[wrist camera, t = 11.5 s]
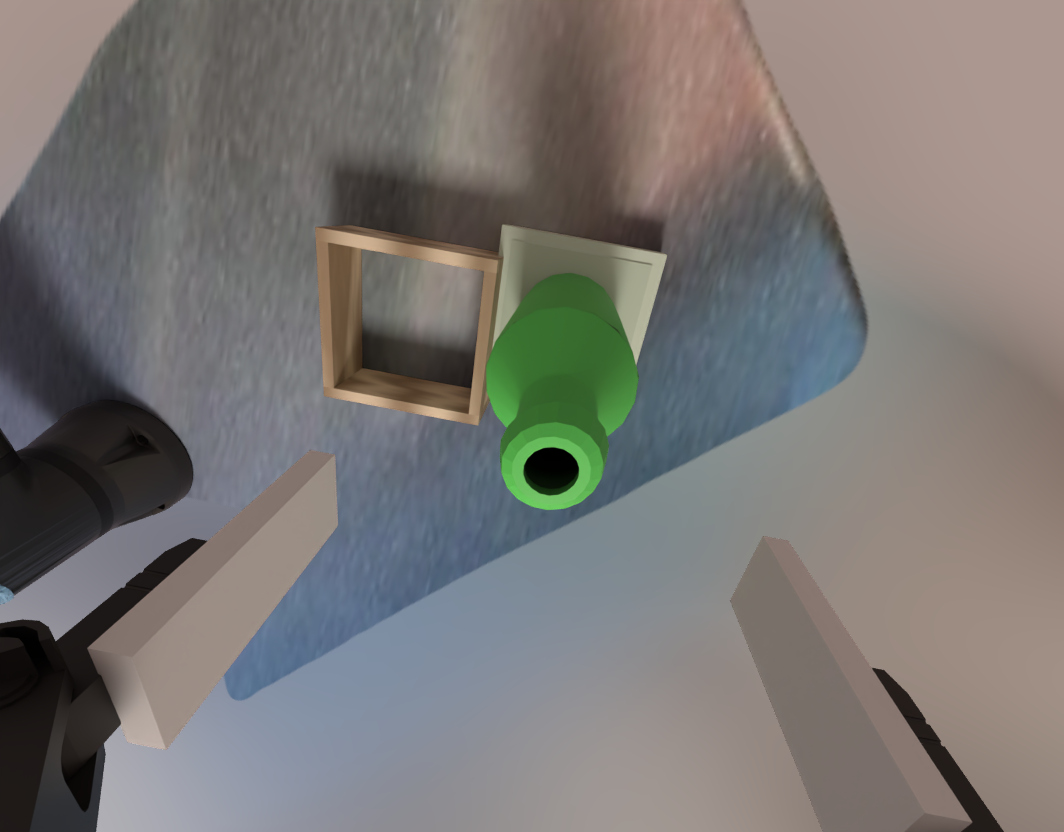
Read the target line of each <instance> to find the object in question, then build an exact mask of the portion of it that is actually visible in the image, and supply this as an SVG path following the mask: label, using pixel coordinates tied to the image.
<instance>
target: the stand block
mask: <svg viewBox="0 0 1064 832" xmlns="http://www.w3.org/2000/svg"><path fill="white" fill-rule="evenodd" d="M498 256H500V257H504V260H503V268H502V276H501V284H500V292H499V300H498V308H497V316H496V323H495V331H494V339H493V346H494V344H495V341H496V340H497V338H498V337H499V335H500V334H501V332H502V331H503V329H504V327H505V326H506V324H507V323H508V321H509V320H510V318H511V317H512V315H513V314H514V312H515V311H516V309H517V308H518V306H519V305H520V303H521V302H522V300H523V299H524V297H525V296H526V295H527V294H528V293H529V291H530V290H531V289H532V288H533V287H534V286H535V285H536V284H537V283H539V282H540V281H542V280H544V279H546V278H548V277H550V276H552V275H557V274H565V273H574V274H578V275H582V276H586V277H589V278H590V279H592V280H593V281H595V282H596V283H598V284H599V285H600V286H602V287H603V288H604V289H605V291H606V292H607V294H608V295H609V297H610V298H611V300H612V301H613V303H614V305H615V308H616V310H617V312H618V315H619V317H620V320H621V322H622V325H623V328H624V330H625V333H626V336H627V338H628V341H629V344H630V346H631V349H632V351H633V355H634V359H635V363H636V364H637V361H638V357H639V353H640V350H641V346H642V343H643V339H644V336H645V332H646V329H647V325H648V322H649V318H650V314H651V311H652V307H653V304H654V300H655V297H656V293H657V290H658V286H659V283H660V279H661V275H662V272H663V268H664V265H665V261H666V258H667V255H666V254H664V253H662V252H658V251H652V250H647V249H641V248H636V247H630V246H625V245H619V244H614V243H608V242H603V241H597V240H592V239H586V238H581V237H575V236H570V235H564V234H559V233H553V232H548V231H542V230H537V229H531V228H526V227H520V226H515V225H509V224H504V225H502V229H501V237H500V245H499V254H498ZM492 349H493V347H492Z"/></svg>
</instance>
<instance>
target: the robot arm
mask: <svg viewBox="0 0 1064 832" xmlns="http://www.w3.org/2000/svg"><path fill="white" fill-rule="evenodd" d="M192 480H193V471H192V466H191V462H190V459H189V457H188V455H187V453H186V451H185V449H184V447H183V446H182V444H181V443H180V441H179V440H178V439H177V437H176V436H175V435H174V434H173V433H172V432H171V431H170V430H169V429H168V428H167V427H166V426H165V425H164V424H163V423H161V422H160V421H159V420H158V419H156V418H155V417H153V416H152V415H150V414H149V413H147V412H145V411H143V410H141V409H139V408H137V407H135V406H132V405H130V404H127V403H123V402H119V401H112V400H101V401H95V402H92V403H89V404H86V405H84V406H81V407H79V408H76V409H74V410H72V411H70V412H68V413H66V414H65V415H64V416H62V417H61V419H60V420H59V421H58V422H56V423H55V424H54V425H52V426H51V427H50V428H49V429H47V430H46V431H45V432H43V433H42V434H41V435H40V436H39V437H37V438H36V439H35V440H34V441H32V442H31V443H30V444H29V445H28V446H26V447H25V448H23V449H21V450H18V451H15V450H14V448H13V447H12V445H11V444H10V442H9V441H8V439H7V438H6V436H5V435H4V433H3V432H2V430H1V429H0V605H1V604H4V603H6V602H8V601H10V600H11V599H13V598H14V595H16V594H17V593H19V592H20V591H22V590H23V589H25V588H26V587H28V586H29V585H30V584H32V583H33V582H35V581H36V580H38V579H39V578H41V577H42V576H44V575H45V574H47V573H48V572H49V571H51V570H52V569H54V568H55V567H57V566H58V565H60V564H61V563H63V562H64V561H65V560H67V559H69V558H70V557H71V556H73V555H74V554H76V553H77V552H79V551H80V550H81V549H83V548H85V547H86V546H88V545H89V544H90V543H92V542H93V541H94V540H96V539H98V538H99V537H101V536H102V535H104V534H105V533H107V532H108V531H110V530H112V529H114V528H117V527H120V526H122V525H126V524H128V523H131V522H134V521H137V520H140V519H143V518H146V517H148V516H151V515H154V514H157V513H160V512H162V511H164V510H166V509H168V508H170V507H171V506H173V505H174V504H175V503H177V502H178V501H180V500H181V499H182V498H184V497H185V496H186V494H187V493H188V492H189V490H190V488H191V485H192ZM337 526H338V517H337V493H336V469H335V455H334V454H328V453H323V452H318V451H312V450H310V451H309V452H308V453H306V454H305V455H304V456H303V457H302V458H301V459H300V460H299V461H297V462H296V463H295V464H294V465H293V466H292V467H291V468H290V469H288V470H287V471H286V472H285V473H284V474H283V475H282V476H280V477H279V478H278V479H277V480H276V481H275V482H274V483H273V484H271V485H270V486H269V487H268V488H267V489H266V490H265V491H264V492H262V493H261V494H260V495H259V496H258V497H257V498H256V499H255V500H253V501H252V502H251V503H250V504H249V505H248V506H247V507H246V508H244V509H243V510H242V511H241V512H240V513H239V514H238V515H237V516H236V517H234V518H233V519H232V520H231V521H230V522H229V523H228V524H226V525H225V526H224V527H223V528H222V529H221V530H220V531H219V532H217V533H216V534H215V535H214V536H213V537H212V538H211V539H210V540H208V541H205V540H200V539H195V538H191V539H189V540H187V541H185V542H183V543H181V544H179V545H177V546H175V547H173V548H171V549H169V550H167V551H165V552H164V553H163V554H162V555H160V556H159V557H158V558H157V559H156V560H154V561H153V562H152V563H151V564H149V565H148V566H147V567H146V568H145V569H144V571H143V572H142V573H139V574H137V575H136V576H135V577H134V578H132V579H131V580H130V581H129V582H128V583H126V586H125V587H124V588H120V589H119V590H118V591H117V592H115V593H114V594H113V595H112V596H111V597H109V598H108V599H107V600H106V601H105V602H103V603H102V604H101V605H100V606H98V607H97V608H96V609H95V610H93V611H92V612H91V613H90V614H89V615H87V616H86V617H85V618H84V619H82V620H81V621H80V622H79V623H78V624H76V625H75V626H74V627H73V628H72V629H70V630H69V631H68V632H67V633H65V634H64V635H63V636H62V637H61V638H59V639H58V640H57V641H55V639H54V637H53V635H52V633H51V631H50V629H49V627H48V626H46V625H45V624H43V623H42V622H40V621H34V620H17V621H11V622H5V623H0V832H96V827H97V818H98V811H99V803H100V795H101V787H102V779H103V771H104V763H105V755H106V754H105V749H104V742H105V741H106V740H107V739H108V738H109V737H110V736H111V735H112V733H113V732H114V731H115V730H116V729H117V728H118V727H119V726H120V725H121V728H122V730H123V733H124V735H125V737H126V740H127V742H129V743H134V744H139V745H144V746H149V747H154V748H159V749H164V750H167V749H168V747H169V746H170V744H171V743H172V742H173V741H174V739H175V738H176V737H177V735H178V734H179V733H180V731H181V730H182V729H183V727H184V726H185V725H186V724H187V722H188V721H189V720H190V718H191V717H192V716H193V714H194V713H195V712H196V711H197V709H198V708H199V707H200V705H201V704H202V703H203V701H204V700H205V699H206V697H207V696H208V695H209V694H210V692H211V691H212V689H213V688H214V687H215V686H216V684H217V683H218V682H219V680H220V679H221V678H222V677H223V675H224V674H225V673H226V671H227V670H228V669H229V667H230V666H231V665H232V663H233V662H234V661H235V660H236V658H237V657H238V656H239V654H240V653H241V652H242V650H243V649H244V648H245V646H246V645H247V644H248V643H249V641H250V640H251V639H252V637H253V636H254V635H255V633H256V632H257V631H258V629H259V628H260V627H261V625H262V624H263V623H264V622H265V620H266V619H267V618H268V616H269V615H270V614H271V612H272V611H273V610H274V608H275V607H276V606H277V605H278V603H279V602H280V601H281V599H282V598H283V597H284V595H285V594H286V593H287V591H288V590H289V589H290V588H291V586H292V585H293V584H294V582H295V581H296V580H297V578H298V577H299V576H300V574H301V573H302V572H303V571H304V569H305V568H306V567H307V565H308V564H309V563H310V561H311V560H312V559H313V557H314V556H315V555H316V554H317V552H318V551H319V550H320V548H321V547H322V546H323V544H324V543H325V542H326V540H327V539H328V538H329V537H330V535H331V534H332V533H333V531H334V530H335V529H336V527H337ZM730 602H731V604H732V607H733V609H734V612H735V614H736V617H737V619H738V622H739V624H740V627H741V629H742V632H743V634H744V637H745V639H746V641H747V644H748V647H749V649H750V652H751V654H752V657H753V659H754V662H755V664H756V667H757V669H758V672H759V674H760V677H761V679H762V682H763V684H764V687H765V689H766V692H767V694H768V697H769V699H770V702H771V704H772V706H773V709H774V712H775V714H776V717H777V719H778V721H779V724H780V727H781V729H782V731H783V734H784V736H785V739H786V741H787V744H788V746H789V749H790V751H791V754H792V756H793V759H794V761H795V764H796V766H797V769H798V771H799V774H800V776H801V779H802V781H803V784H804V786H805V789H806V791H807V794H808V796H809V799H810V801H811V804H812V806H813V809H814V811H815V813H816V816H817V819H818V821H819V824H820V826H821V829H822V831H823V832H1004V831H1003V830H1002V829H1001V827H1000V825H999V824H998V823H997V821H996V820H995V818H994V817H993V815H992V814H991V813H990V811H989V810H988V809H987V807H986V805H985V804H984V802H983V801H982V800H981V798H980V797H979V795H978V794H977V792H976V791H975V789H974V788H973V787H972V785H971V784H970V782H969V781H968V779H967V778H966V777H965V775H964V774H963V772H962V771H961V770H960V768H959V766H958V765H957V764H956V762H955V761H954V759H953V758H952V756H951V755H950V754H949V752H948V751H947V749H946V748H945V747H943V746H942V745H941V743H940V742H941V741H940V739H939V738H938V736H937V735H936V733H935V732H934V731H933V729H932V728H931V726H930V725H928V724H926V722H925V718H924V716H923V715H922V713H921V712H920V710H919V709H918V707H917V706H916V705H915V703H914V702H913V700H912V699H911V697H910V696H909V695H908V693H907V692H906V691H905V690H904V689H902V687H901V686H900V685H898V684H897V682H896V681H894V679H893V678H891V677H890V676H889V675H888V674H887V673H886V672H885V671H884V670H881V669H876V668H871V666H870V665H869V663H868V662H867V660H866V659H865V657H864V656H863V654H862V653H861V651H860V650H859V648H858V647H857V645H856V643H855V642H854V641H853V639H852V637H851V636H850V634H849V633H848V631H847V630H846V628H845V627H844V625H843V624H842V622H841V621H840V619H839V617H838V616H837V614H836V613H835V611H834V610H833V608H832V607H831V605H830V604H829V602H828V601H827V599H826V598H825V596H824V595H823V593H822V591H821V590H820V589H819V587H818V585H817V584H816V582H815V581H814V579H813V578H812V577H811V575H810V573H809V572H808V570H807V569H806V567H805V566H804V564H803V562H802V561H801V560H800V558H799V556H798V555H797V553H796V552H795V550H794V549H793V547H792V546H791V544H790V543H789V541H787V540H782V539H776V538H771V537H766V536H763V537H762V539H761V541H760V543H759V545H758V547H757V549H756V551H755V553H754V554H753V557H752V558H751V560H750V562H749V564H748V566H747V568H746V570H745V572H744V574H743V576H742V578H741V580H740V582H739V584H738V586H737V588H736V590H735V592H734V594H733V596H732V598H731V600H730Z"/></svg>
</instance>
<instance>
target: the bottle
mask: <svg viewBox="0 0 1064 832" xmlns="http://www.w3.org/2000/svg"><path fill="white" fill-rule="evenodd" d="M638 379H639V375H638V371H637V367H636V363H635V359H634V355H633V351H632V349H631V346H630V344H629V341H628V338H627V336H626V333H625V330H624V328H623V325H622V322H621V320H620V317H619V315H618V312H617V310H616V308H615V305H614V303H613V301H612V300H611V298H610V297H609V295H608V294H607V292H606V291H605V289H604V288H603V287H602V286H600V285H599V284H598V283H596V282H595V281H593V280H592V279H590V278H589V277H586V276H582V275H578V274H574V273H565V274H557V275H552V276H550V277H548V278H546V279H544V280H542V281H540V282H539V283H537V284H536V285H535V286H534V287H533V288H532V289H531V290H530V291H529V293H528V294H527V295H526V296H525V297H524V299H523V300H522V302H521V303H520V305H519V306H518V308H517V309H516V311H515V312H514V314H513V315H512V317H511V318H510V320H509V321H508V323H507V324H506V326H505V327H504V329H503V331H502V332H501V334H500V335H499V337H498V338H497V340H496V341H495V344H494V346H493V349H492V352H491V354H490V357H489V359H488V362H487V365H486V391H487V394H488V397H489V399H490V402H491V404H492V407H493V410H494V412H495V414H496V416H497V417H498V418H499V419H500V420H501V421H502V423H503V424H504V425H505V426H506V427H507V429H506V431H505V433H504V435H503V437H502V439H501V446H500V463H501V472H502V475H503V478H504V481H505V483H506V486H507V488H508V489H509V490H510V491H511V492H512V493H513V494H514V496H515V497H516V498H517V499H519V500H521V501H523V502H524V503H526V504H528V505H530V506H532V507H536V508H541V509H546V510H553V509H565V508H567V507H570V506H572V505H575V504H578V503H580V502H582V501H583V500H584V499H585V498H586V497H587V496H589V495H590V494H591V493H592V492H593V491H594V489H595V488H596V486H597V484H598V483H599V481H600V480H601V477H602V474H603V470H604V467H605V464H606V459H607V454H608V448H609V444H608V439H607V436H609V435H610V434H611V433H612V432H613V431H614V430H616V429H617V428H618V427H619V426H620V425H621V424H623V422H624V420H625V418H626V417H627V415H628V413H629V411H630V410H631V408H632V406H633V404H634V403H635V397H636V391H637V385H638Z"/></svg>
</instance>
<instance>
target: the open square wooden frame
mask: <svg viewBox="0 0 1064 832" xmlns="http://www.w3.org/2000/svg"><path fill="white" fill-rule="evenodd" d="M315 230H316V249H317V269H318V288H319V307H320V327H321V346H322V365H323V384H324V396H326V397H332V398H337V399H342V400H347V401H353V402H358V403H363V404H368V405H374V406H379V407H384V408H389V409H395V410H400V411H405V412H410V413H416V414H421V415H426V416H431V417H436V418H442V419H447V420H452V421H457V422H463V423H468V424H473V425H478V424H479V422H480V420H481V418H482V416H483V414H484V412H485V410H486V408H487V406H488V403H489V401H490V399H489V397H488V394H487V391H486V365H487V362H488V359H489V357H490V354H491V352H492V347H493V339H494V331H495V323H496V316H497V308H498V300H499V292H500V284H501V276H502V268H503V260H504V257H500V256H498V254H499V252H494V251H488V250H483V249H477V248H472V247H467V246H461V245H456V244H450V243H445V242H439V241H434V240H428V239H423V238H417V237H412V236H406V235H401V234H396V233H390V232H385V231H379V230H374V229H368V228H363V227H357V226H352V225H346V226H325V227H315ZM361 249H367V250H372V251H378V252H383V253H388V254H394V255H399V256H405V257H410V258H416V259H421V260H426V261H432V262H437V263H443V264H448V265H454V266H459V267H464V268H470V269H475V270H481V271H484V279H483V288H482V297H481V307H480V316H479V325H478V334H477V343H476V352H475V361H474V371H473V380H472V389H471V388H465V387H460V386H455V385H449V384H444V383H439V382H434V381H428V380H423V379H418V378H412V377H407V376H402V375H397V374H391V373H386V372H381V371H375V370H370V369H365V368H363V363H362V255H361Z"/></svg>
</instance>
